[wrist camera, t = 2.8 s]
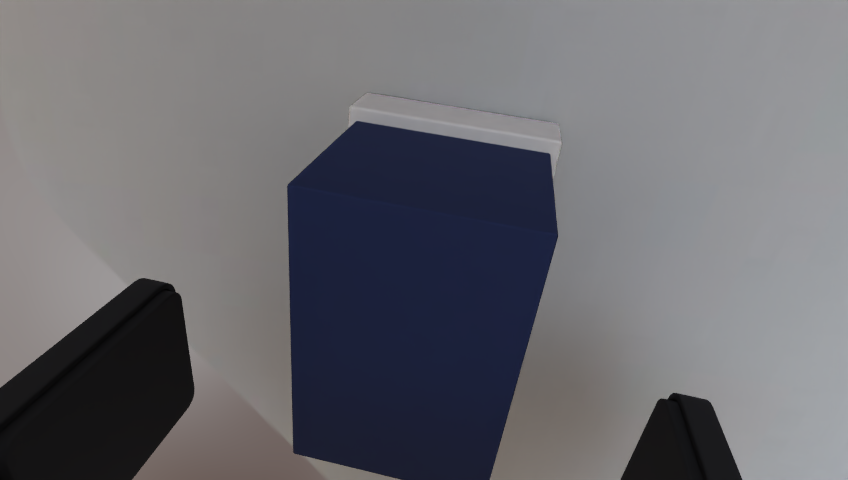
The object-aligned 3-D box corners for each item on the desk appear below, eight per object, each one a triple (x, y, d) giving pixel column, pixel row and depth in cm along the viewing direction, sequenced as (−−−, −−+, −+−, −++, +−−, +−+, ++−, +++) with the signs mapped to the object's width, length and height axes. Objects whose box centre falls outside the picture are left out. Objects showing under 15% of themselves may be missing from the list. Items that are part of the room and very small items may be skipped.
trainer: (366, 91, 13) (274, 165, 9) (560, 123, 13) (576, 220, 8) (350, 373, 18) (287, 519, 14) (489, 404, 18) (474, 566, 13)
